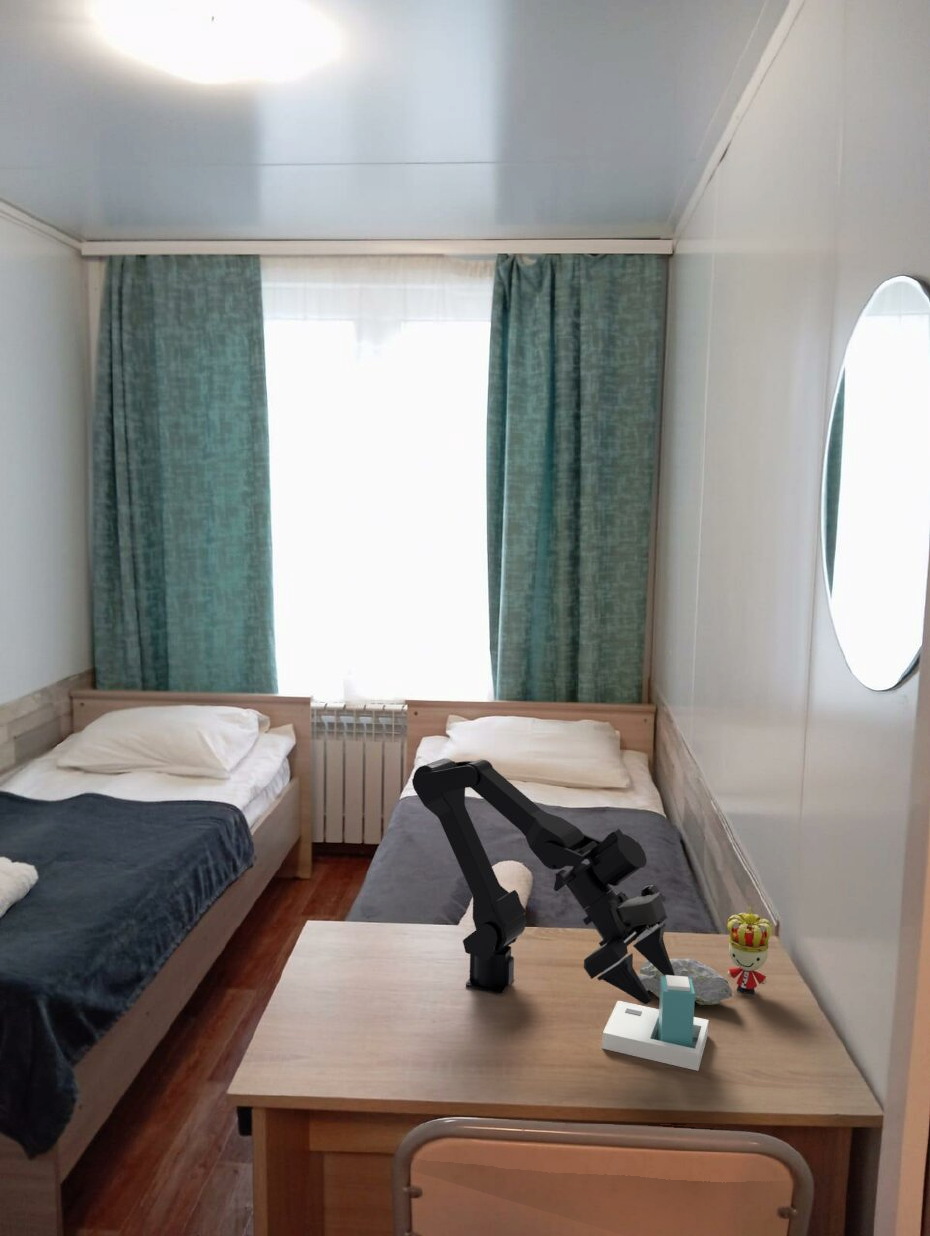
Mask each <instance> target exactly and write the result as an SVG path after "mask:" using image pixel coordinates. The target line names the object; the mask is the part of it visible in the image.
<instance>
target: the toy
mask: <svg viewBox="0 0 930 1236" xmlns="http://www.w3.org/2000/svg"><path fill="white" fill-rule="evenodd" d="M752 907H753V905H751V904H749V906H746V910H750V911H749V913H746V912H740V913H738V914H732V915H731V916H729V918H728V919H727V926H726V927H727V930H728V933H729V937H728V938H729V939H728V943H729V944H728V945H729V946H728V953H729V957H730V959H731V960H732V962H733V964H735V966H737V967H733V968H732V967H731V968H729V969H728V971H727V976H728V977H729V978H732V979H736V978H737V977H738V976H739V977H738V979H737V981H736V984H737V988H736V991H737V992H738V993H742V994H743V993H746V994H747V995H751V996H753V995H756V991H755V988H757V986H758V984H759V985H761V984H762V985H766V984H767V982H768V979H767V976H766V975H765V974H762V973H760V972H758V971H757V970H759V969H761V968H762V967H763V966H764V965H765V964H766V962H767V959H768V955H769V952H768V951H769V944H770V943H769V940H770V937H771V935H772V933H773V932H772V930H773V929H772V927H773V926H772V925H771V922H770V920H768V919H766V918H762V917H761V915H759V914H757V913H754V914H753V913H752V911H755V908H752ZM733 918H735V919H733ZM735 924H738V927H736V928H735V927H734V925H735ZM762 926H763V927H764V928H765V929H764V932H763V931H762V929H761V928H760V927H762ZM757 983H758V984H757Z"/></svg>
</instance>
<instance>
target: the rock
mask: <svg viewBox="0 0 930 1236" xmlns="http://www.w3.org/2000/svg"><path fill="white" fill-rule="evenodd" d="M669 959H670V962H671V965H672V968H673V971H674V974H675V976H685V977H688V978H689V979H692V984H693V988H694V992H695V1002H696V1003H697V1004H698V1005H700V1006H704V1005H709V1006H710V1005H711V1006H713V1005H716V1004H719V1003H720V1002H721V1001H722V1000H725V999H729V998H732V997H733V989H732V988H731V985H730V984H729V980H727V978H725V977H723V976H722V975H720V974H719V973H718V972H717V970H715V969H713V968H712V967H710V966H708V964H705V963H702V962H701V961H698V960H696V959H694V958H676V957H674V958H670V957H669ZM637 975H638V977H639V979H640V981H641V982H642V984H643V986H644V987H645V989H646V991H647V992H648V991H650V992H651V993H652V994H653V995H655V996H656V997H657V998H659V999H660V981H661V976H663V977H666V976H665V975H663V974H662V973H661V972H660V971H659V970H658V969H657V968H656V967H655V966H654V965H653V964H651V963H650V962H649V961H648V960H647V959H646V961H644V963H643V964H642V965H641V966H640V968H639V974H638V973H637Z"/></svg>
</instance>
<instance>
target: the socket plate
mask: <svg viewBox="0 0 930 1236" xmlns="http://www.w3.org/2000/svg"><path fill="white" fill-rule="evenodd" d="M609 1016H610V1017H609V1018H608V1020H607V1023H606V1025H605V1027H604V1030H603V1032H602V1042H601V1043H602V1044H601V1048H602V1049H603V1050H608V1051H611V1052H616V1053H621V1054H624V1055H629V1056H634V1057H637V1058H641V1059H645V1060H649V1061H653V1062H654V1061H655V1062H658V1063H663V1064H667V1065H672V1066H675V1067H680V1068H684V1069H687V1070H688V1069H689V1070H693V1071H697V1072H698V1071H699V1069H700V1067H701V1062H702V1058H703V1054H704V1052H705V1047H706V1043H707V1041H708V1040H707V1039H708V1036H709V1019H705V1018H701V1017H696V1016H694V1021H693V1040H692V1048H690V1047H685V1046H681V1045H676V1044H672V1043H668V1042H663V1041H659V1040H658V1022H659V1008H655V1007H649V1006H646V1005H645V1006H644V1005H639V1004H635V1003H631V1002H626V1001H621V1000H617V1001H616V1003H615V1006H614V1008H613V1010H612V1011H611V1014H610V1015H609Z"/></svg>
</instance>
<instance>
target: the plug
mask: <svg viewBox="0 0 930 1236" xmlns="http://www.w3.org/2000/svg"><path fill="white" fill-rule="evenodd" d="M695 1002H696V1001H695V992H694V988H693V984H692V979H689V978H688V977H685V976H672V975H666V977H663V976H661V981H660V998H659V1006H658V1009H659V1022H658V1040H659V1041H663V1042H668V1043H672V1044H676V1045H681V1046H685V1047H690V1048H692V1040H693V1021H694V1017H695Z"/></svg>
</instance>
